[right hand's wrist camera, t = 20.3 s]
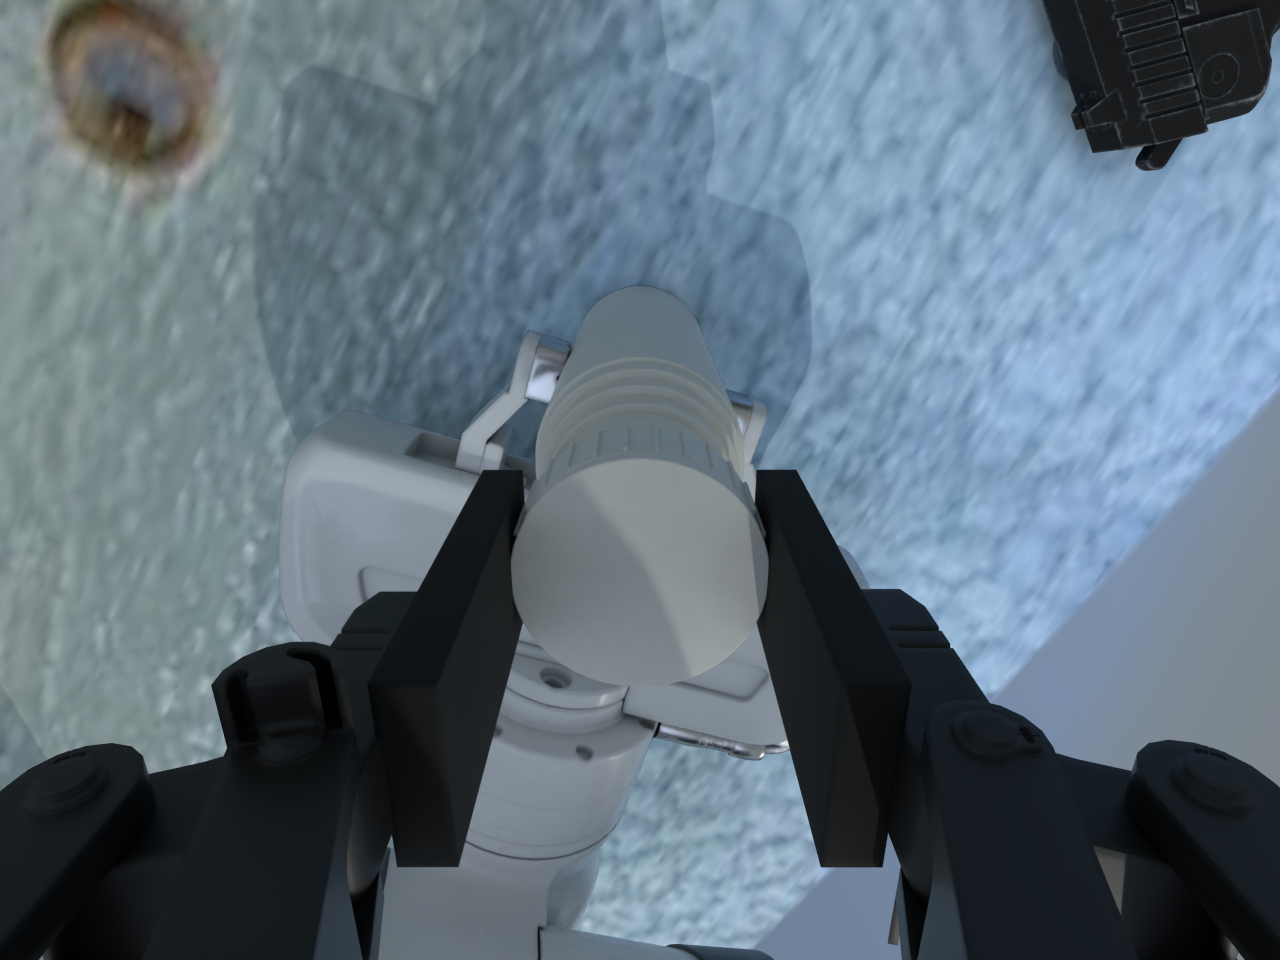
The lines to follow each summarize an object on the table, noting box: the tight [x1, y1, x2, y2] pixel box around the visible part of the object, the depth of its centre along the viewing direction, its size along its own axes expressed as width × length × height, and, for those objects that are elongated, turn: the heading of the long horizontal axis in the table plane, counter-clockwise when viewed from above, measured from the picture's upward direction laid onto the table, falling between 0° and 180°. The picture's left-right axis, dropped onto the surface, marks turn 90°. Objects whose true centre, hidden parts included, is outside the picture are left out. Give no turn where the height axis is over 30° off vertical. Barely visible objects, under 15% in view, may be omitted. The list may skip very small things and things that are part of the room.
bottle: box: [535, 286, 744, 482], centre depth 22 cm, size 5×5×18 cm
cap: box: [511, 424, 769, 687], centre depth 14 cm, size 5×5×2 cm
